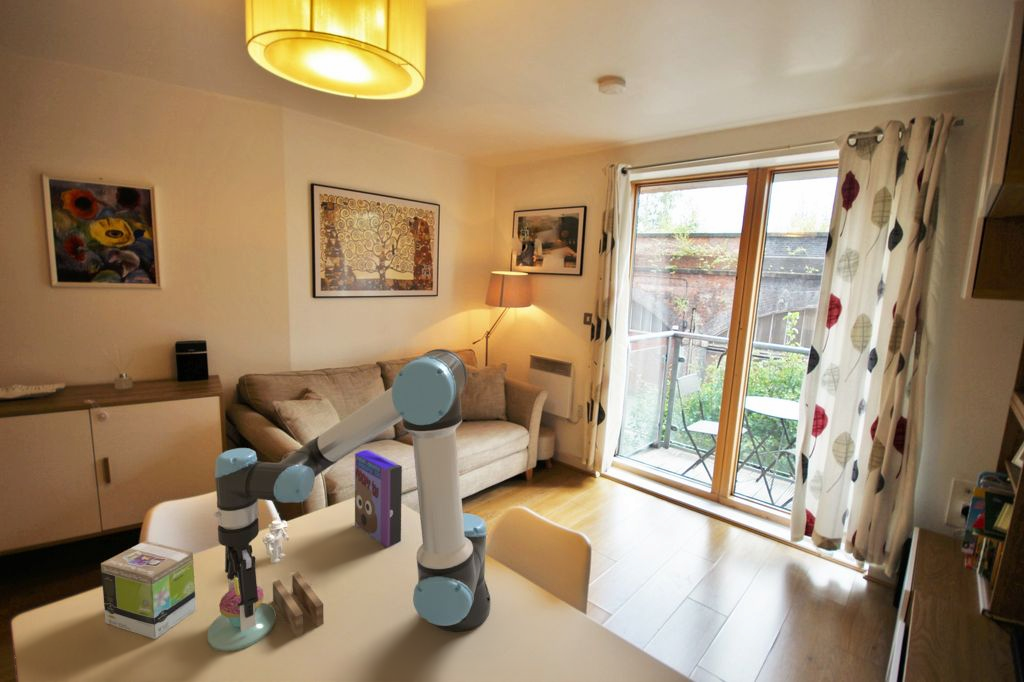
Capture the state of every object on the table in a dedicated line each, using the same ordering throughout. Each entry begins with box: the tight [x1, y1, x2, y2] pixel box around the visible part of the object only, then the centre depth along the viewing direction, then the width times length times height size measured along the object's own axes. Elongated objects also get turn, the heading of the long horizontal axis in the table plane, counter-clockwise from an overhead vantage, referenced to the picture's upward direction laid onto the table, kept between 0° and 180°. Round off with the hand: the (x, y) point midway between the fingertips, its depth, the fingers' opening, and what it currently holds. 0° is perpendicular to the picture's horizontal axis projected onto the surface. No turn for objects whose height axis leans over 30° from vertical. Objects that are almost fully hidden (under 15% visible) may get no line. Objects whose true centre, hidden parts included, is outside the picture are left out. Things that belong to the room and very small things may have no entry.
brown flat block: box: [291, 571, 324, 628], centre depth 109 cm, size 15×2×5 cm, turn 45°
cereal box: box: [354, 449, 403, 549], centre depth 140 cm, size 17×5×24 cm, turn 50°
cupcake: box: [219, 575, 264, 627], centre depth 101 cm, size 9×8×12 cm
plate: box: [207, 602, 276, 652], centre depth 102 cm, size 13×13×1 cm
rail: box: [272, 579, 304, 638], centre depth 106 cm, size 15×2×5 cm, turn 45°
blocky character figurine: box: [262, 512, 290, 564], centre depth 126 cm, size 9×4×12 cm, turn 173°
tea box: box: [100, 540, 197, 640], centre depth 103 cm, size 15×10×15 cm, turn 74°
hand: (242, 615), depth 102 cm, fingers closed on cupcake, 8 cm apart
